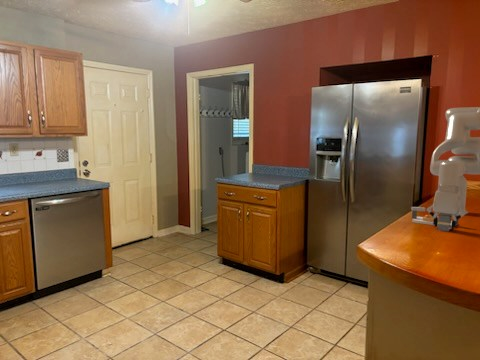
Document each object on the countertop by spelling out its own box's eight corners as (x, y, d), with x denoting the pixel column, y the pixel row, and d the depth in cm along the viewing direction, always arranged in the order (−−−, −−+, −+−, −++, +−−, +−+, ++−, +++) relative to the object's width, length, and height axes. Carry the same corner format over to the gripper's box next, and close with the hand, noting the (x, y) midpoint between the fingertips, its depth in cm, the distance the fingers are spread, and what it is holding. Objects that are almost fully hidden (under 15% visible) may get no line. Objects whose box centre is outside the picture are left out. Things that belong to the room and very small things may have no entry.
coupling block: (437, 230, 162) (438, 215, 162) (439, 227, 167) (440, 212, 166) (448, 231, 160) (450, 216, 159) (450, 229, 165) (451, 214, 164)
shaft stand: (408, 221, 177) (409, 208, 177) (412, 218, 185) (413, 205, 184) (458, 228, 165) (459, 214, 164) (460, 224, 173) (461, 210, 172)
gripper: (470, 189, 159) (467, 229, 161) (427, 186, 169) (424, 223, 171) (469, 192, 153) (465, 232, 155) (424, 188, 163) (421, 226, 165)
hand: (444, 227), depth 163 cm, fingers open, 6 cm apart
